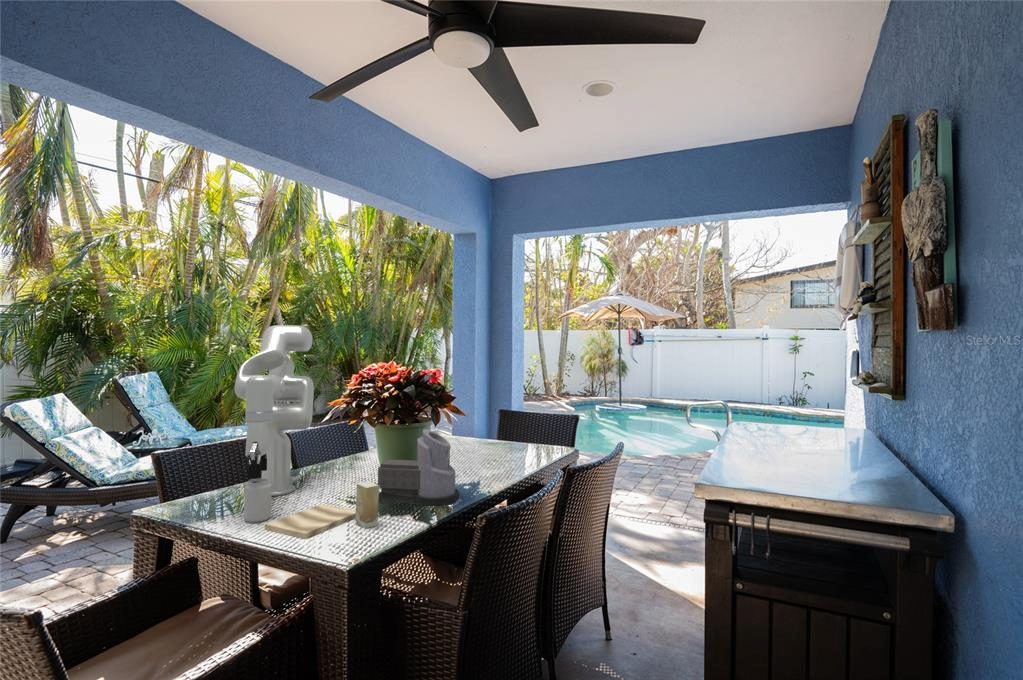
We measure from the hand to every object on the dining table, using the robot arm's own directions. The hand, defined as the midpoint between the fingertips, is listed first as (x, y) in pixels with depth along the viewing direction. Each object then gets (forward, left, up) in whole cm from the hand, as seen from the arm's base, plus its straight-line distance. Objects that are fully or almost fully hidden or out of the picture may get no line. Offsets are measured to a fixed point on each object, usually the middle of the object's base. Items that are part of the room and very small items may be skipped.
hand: (257, 474), depth 164 cm
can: (-1, 0, -14) cm, 14 cm away
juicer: (-41, +30, -14) cm, 53 cm away
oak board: (-7, +17, -14) cm, 23 cm away
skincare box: (-13, +32, -14) cm, 37 cm away
